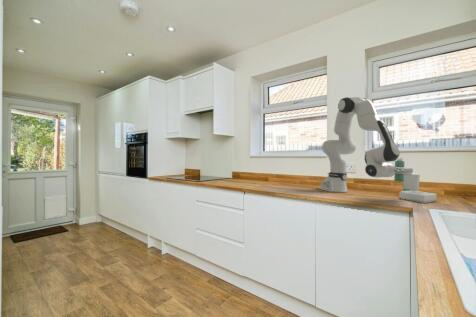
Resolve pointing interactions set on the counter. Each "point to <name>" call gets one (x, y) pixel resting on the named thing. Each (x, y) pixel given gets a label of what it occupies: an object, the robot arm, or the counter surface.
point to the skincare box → (411, 182)
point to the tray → (417, 196)
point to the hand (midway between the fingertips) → (400, 169)
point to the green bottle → (397, 176)
